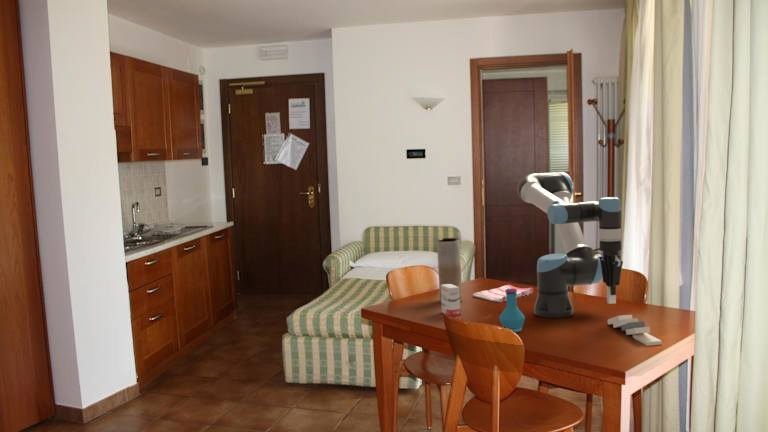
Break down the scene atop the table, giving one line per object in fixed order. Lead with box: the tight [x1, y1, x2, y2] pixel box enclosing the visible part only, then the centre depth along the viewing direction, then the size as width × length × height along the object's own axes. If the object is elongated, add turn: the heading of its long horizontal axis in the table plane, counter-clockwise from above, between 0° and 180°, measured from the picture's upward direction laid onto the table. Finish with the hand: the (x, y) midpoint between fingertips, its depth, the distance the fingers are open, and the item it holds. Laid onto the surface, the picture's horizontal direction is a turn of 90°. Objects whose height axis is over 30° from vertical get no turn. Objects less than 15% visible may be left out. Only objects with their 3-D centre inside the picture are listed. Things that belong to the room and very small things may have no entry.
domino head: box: [607, 314, 633, 325], centre depth 234 cm, size 2×5×10 cm
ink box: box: [440, 284, 462, 317], centre depth 266 cm, size 8×5×12 cm, turn 20°
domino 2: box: [620, 320, 646, 332], centre depth 224 cm, size 2×5×10 cm
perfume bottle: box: [498, 288, 526, 333], centre depth 238 cm, size 9×9×15 cm
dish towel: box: [472, 284, 534, 303], centre depth 295 cm, size 17×23×4 cm
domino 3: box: [625, 326, 651, 336], centre depth 220 cm, size 2×5×10 cm
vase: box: [436, 237, 463, 303], centre depth 287 cm, size 10×10×28 cm
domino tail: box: [632, 333, 663, 346], centre depth 216 cm, size 2×5×10 cm
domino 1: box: [612, 317, 639, 329], centre depth 230 cm, size 2×5×10 cm
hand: (611, 303), depth 239 cm, fingers closed
